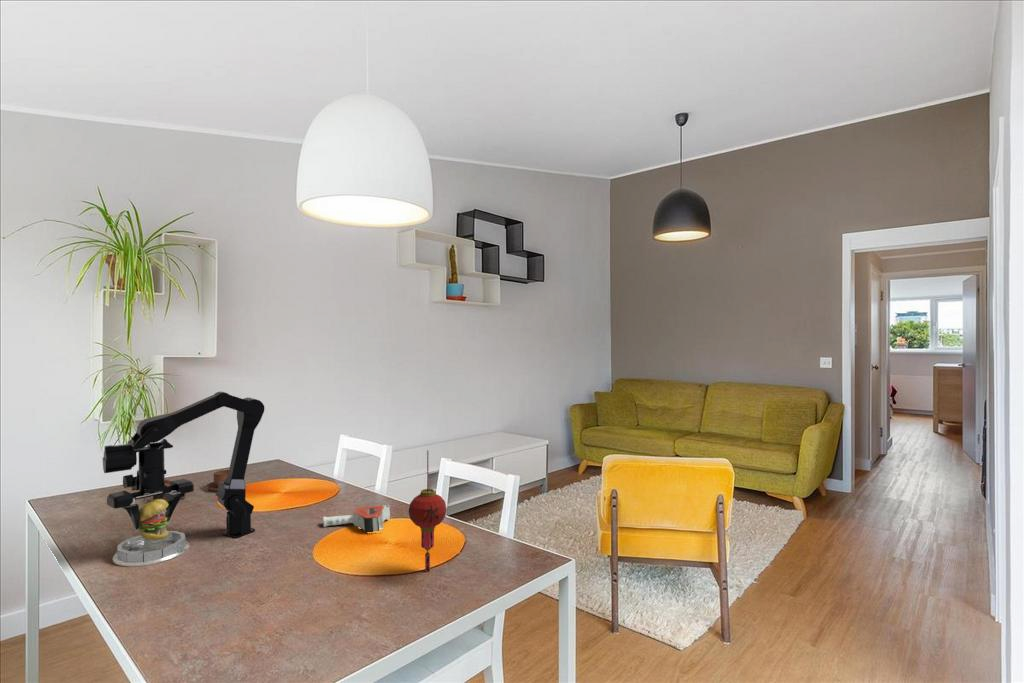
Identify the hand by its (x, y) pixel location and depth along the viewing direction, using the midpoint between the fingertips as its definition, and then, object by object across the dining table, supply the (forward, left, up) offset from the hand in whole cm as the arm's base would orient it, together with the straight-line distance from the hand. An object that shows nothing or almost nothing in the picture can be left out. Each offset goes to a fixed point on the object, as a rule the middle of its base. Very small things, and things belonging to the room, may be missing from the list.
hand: (152, 524), depth 146 cm
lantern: (-72, -23, -8) cm, 76 cm away
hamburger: (0, 0, -4) cm, 4 cm away
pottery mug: (+40, -30, -8) cm, 50 cm away
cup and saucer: (+37, -49, -8) cm, 62 cm away
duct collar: (0, 0, -8) cm, 8 cm away
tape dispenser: (-36, -41, -8) cm, 55 cm away
